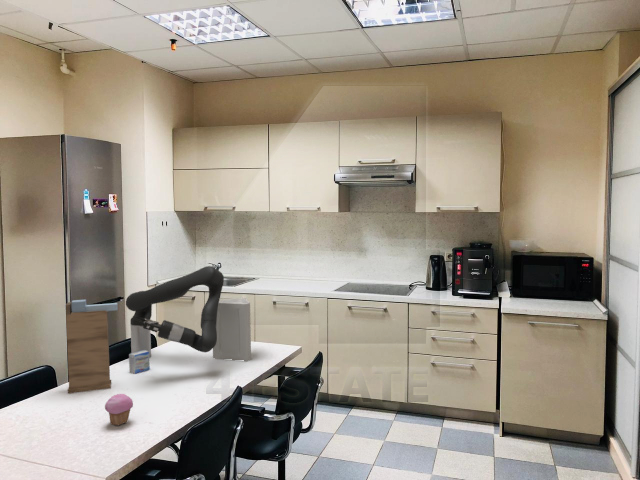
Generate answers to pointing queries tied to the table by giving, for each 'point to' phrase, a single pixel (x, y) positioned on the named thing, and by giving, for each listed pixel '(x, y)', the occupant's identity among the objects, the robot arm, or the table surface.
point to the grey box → (233, 330)
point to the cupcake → (119, 408)
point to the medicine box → (139, 362)
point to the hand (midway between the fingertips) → (134, 319)
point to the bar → (92, 306)
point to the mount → (87, 350)
